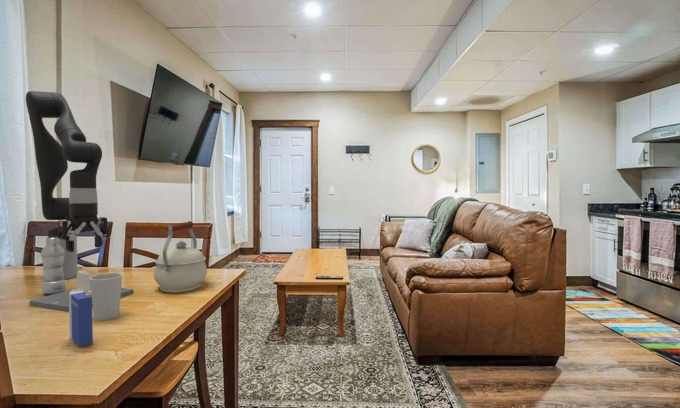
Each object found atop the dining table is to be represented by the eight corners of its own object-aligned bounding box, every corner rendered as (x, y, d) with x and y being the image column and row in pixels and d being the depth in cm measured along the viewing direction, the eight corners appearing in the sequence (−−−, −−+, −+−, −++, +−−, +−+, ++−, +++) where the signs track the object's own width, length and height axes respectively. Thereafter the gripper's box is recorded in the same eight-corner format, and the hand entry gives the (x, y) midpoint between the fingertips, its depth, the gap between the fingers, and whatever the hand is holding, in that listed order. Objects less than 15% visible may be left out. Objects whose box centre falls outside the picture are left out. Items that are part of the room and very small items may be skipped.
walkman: (93, 343, 82) (92, 295, 81) (79, 347, 80) (78, 298, 79) (82, 334, 87) (82, 288, 86) (69, 338, 85) (68, 291, 84)
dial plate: (29, 305, 107) (29, 300, 107) (91, 287, 126) (91, 283, 126) (75, 312, 101) (75, 307, 101) (133, 293, 120) (133, 288, 120)
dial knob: (65, 295, 113) (65, 273, 112) (93, 289, 119) (93, 268, 119) (79, 302, 106) (78, 279, 105) (107, 296, 112) (107, 274, 112)
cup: (87, 323, 94) (86, 281, 93) (92, 313, 101) (92, 274, 100) (121, 318, 97) (120, 278, 97) (124, 309, 104) (123, 271, 104)
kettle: (190, 297, 117) (189, 226, 116) (139, 295, 118) (139, 225, 117) (219, 278, 142) (219, 219, 141) (178, 276, 143) (177, 219, 142)
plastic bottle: (52, 296, 115) (51, 239, 114) (36, 295, 117) (35, 238, 116) (70, 291, 122) (69, 236, 121) (55, 290, 123) (54, 235, 122)
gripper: (98, 200, 120) (98, 245, 121) (52, 202, 107) (53, 252, 108) (112, 201, 118) (113, 247, 118) (67, 202, 104) (68, 254, 105)
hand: (84, 249), depth 113 cm, fingers open, 8 cm apart
